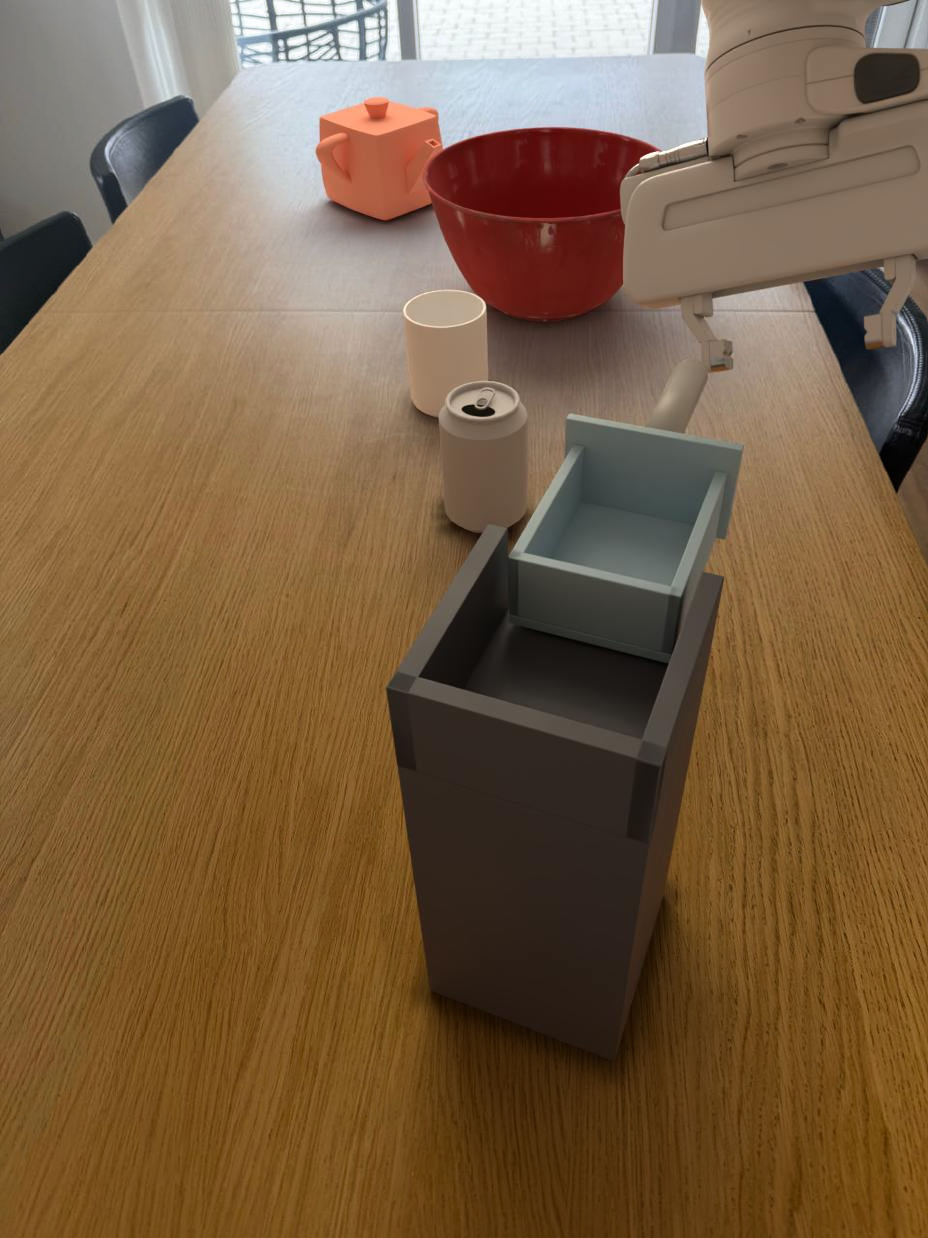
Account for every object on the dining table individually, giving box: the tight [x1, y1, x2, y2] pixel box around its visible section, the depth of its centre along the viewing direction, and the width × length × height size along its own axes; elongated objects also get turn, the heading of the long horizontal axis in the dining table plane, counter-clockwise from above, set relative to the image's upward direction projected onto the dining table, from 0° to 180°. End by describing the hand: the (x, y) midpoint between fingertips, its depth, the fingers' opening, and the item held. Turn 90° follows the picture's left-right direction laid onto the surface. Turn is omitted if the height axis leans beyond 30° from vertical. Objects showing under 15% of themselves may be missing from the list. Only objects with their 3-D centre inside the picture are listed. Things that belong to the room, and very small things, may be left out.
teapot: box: [315, 96, 444, 221], centre depth 138 cm, size 20×22×14 cm
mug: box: [402, 289, 489, 418], centre depth 100 cm, size 12×8×10 cm
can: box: [438, 380, 529, 534], centre depth 84 cm, size 8×8×12 cm
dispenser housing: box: [385, 524, 725, 1062], centre depth 49 cm, size 11×11×26 cm
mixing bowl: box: [423, 126, 664, 323], centre depth 114 cm, size 28×28×16 cm
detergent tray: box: [508, 357, 745, 664], centre depth 50 cm, size 9×20×6 cm, turn 157°
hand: (796, 359), depth 58 cm, fingers open, 8 cm apart
